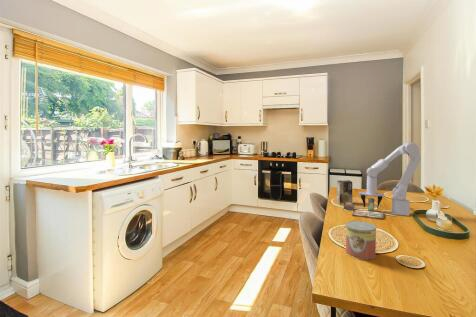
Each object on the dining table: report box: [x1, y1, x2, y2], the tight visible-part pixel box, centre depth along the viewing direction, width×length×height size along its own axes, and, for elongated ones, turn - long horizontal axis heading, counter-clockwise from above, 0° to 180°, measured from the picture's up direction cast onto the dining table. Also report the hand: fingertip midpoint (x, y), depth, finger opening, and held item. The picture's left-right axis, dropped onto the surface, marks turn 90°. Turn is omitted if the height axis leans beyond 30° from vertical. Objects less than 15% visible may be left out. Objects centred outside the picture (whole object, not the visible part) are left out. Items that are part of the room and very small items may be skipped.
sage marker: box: [367, 197, 375, 212], centre depth 168 cm, size 3×3×8 cm
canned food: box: [345, 220, 377, 261], centre depth 109 cm, size 11×11×12 cm
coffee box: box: [336, 179, 353, 204], centre depth 189 cm, size 9×6×16 cm
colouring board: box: [352, 209, 385, 221], centre depth 160 cm, size 16×12×1 cm
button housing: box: [343, 204, 355, 211], centre depth 174 cm, size 6×6×2 cm
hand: (371, 207), depth 168 cm, fingers open, 7 cm apart
